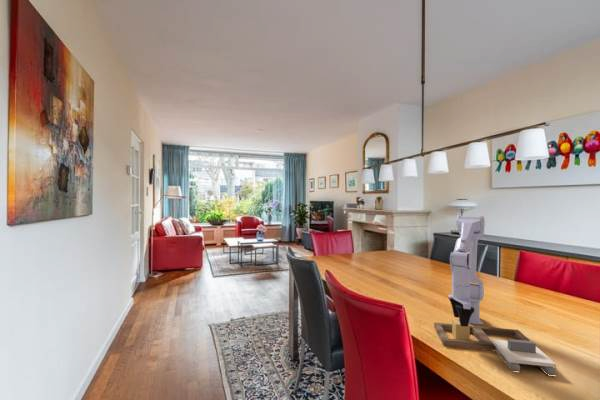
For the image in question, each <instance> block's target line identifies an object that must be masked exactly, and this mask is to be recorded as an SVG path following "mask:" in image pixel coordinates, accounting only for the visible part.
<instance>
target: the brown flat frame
mask: <svg viewBox="0 0 600 400" xmlns="http://www.w3.org/2000/svg"><path fill="white" fill-rule="evenodd" d="M433 324H434V330H435V332H436V334H437V335H438V337H439V341H441V344H442V346H443V345H446V347H453V346H458V347H457V348H463V347H468V348H467V349H472V348H476V349H475V350H482V349H485V350H486V351H492V350H495V351H494V352H495V353H496V352H497V353H498V354H499V355H500V356H501V357H502V359H503V360H504V361H505V362H506V364H507V365H508V366H509V367H510V368H511V370H512V371H519V372H520V373H521V366H520V363H511V362H508V361H507V359H506V358H505V357H504V356H503V355H502V354H501V352H500V351H499V350H498V349H497V348H496V346H495V345H494V344H493V343H492V340H491V338H490V337H489V335H492V336H504V337H514V338H515V340H525V341H531V339H529V338H528V337H527V336H526V335H525V334H524V333H523V332H521V331H520V330H519V329H511V328H499V327H488V326H477V325H470V332H471V333H472V335H473V336H474V337H475V339H476V338H477V339H476V340H471V339H470V340H460V339H455V338H449V336H448V335H447V333H446V332H445V331H451V332H452V323H444V322H443V323H442V322H434V323H433ZM471 333H470V334H471ZM536 347H538V346H537V345H536ZM485 350H484V351H485ZM497 353H496V354H497ZM498 354H497V355H498ZM499 355H498V356H499ZM500 356H499V357H500ZM502 359H501V360H502ZM503 360H502V361H503ZM504 361H503V362H504ZM505 362H504V363H505ZM506 364H505V365H506ZM507 365H506V366H507ZM508 366H507V367H508ZM509 367H508V368H509ZM539 367H540V368H542V369H543V370H544V371H545V372H546V373H547V374H549V375H556V376H557V370H556V368H555V367H547V366H539ZM539 367H538V368H539ZM540 368H539V369H540ZM511 370H510V371H511ZM512 371H511V372H512Z"/></svg>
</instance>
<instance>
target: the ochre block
mask: <svg viewBox="0 0 600 400" xmlns="http://www.w3.org/2000/svg"><path fill="white" fill-rule="evenodd" d="M451 324H452V331H451V333H452V334H451V335H452V337H453V339H460V340H470V341H471V336H470V335H471V333H470V326H471V325H470V323H468V326H467V327H466V326H461V325H460V320H459V318H457V319H455V318H452V320H451Z"/></svg>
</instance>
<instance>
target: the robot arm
mask: <svg viewBox="0 0 600 400" xmlns="http://www.w3.org/2000/svg"><path fill="white" fill-rule="evenodd" d="M485 225H486V224H485V217H484V215H460V214H459V215H458V216H457V217H456V228H457V231H458V233H459V235H460V237H459V238H457V239H456V241H455V245H454V249H453V252H452V251H451V252H450V255H449V265H450V271H451V294H448V300H449V302H450V305H451V308H452V312H453V316H454V318H457V319H458V320H460V325H461V326H466V327H467V326H468V324H472V325H473V324H474V325H481V326H482V325H484V322H483V321H482V320H481V319H480V318H481V317H480V311H481V310H480V306H481V305H480V301H483V300H484V295H485V294H484V293H485V288H484V287H485V286H484V281H483V280H482V279H481V278H479V277H478V276H477V260H478V259H477V258H478V242H479V238H482V237H483V236H484V235H485V227H486V226H485Z"/></svg>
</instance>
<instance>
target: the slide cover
mask: <svg viewBox="0 0 600 400" xmlns="http://www.w3.org/2000/svg"><path fill="white" fill-rule="evenodd" d="M491 341H492V343H493V344H494V345H495V346H496V348H497V349H498V350H499V351H500V352H501V354H502V355H503V356H504V357H505V358H506V359H507V361H508V362H511V363H518V364H519V365H530V366H537V365H538V366H547V367H553V368H557V364H556V362H555V361H553V359H551V358H550V357H549V356H548V355H547V354H545V353H544V352H543V351H542V350H541V349H540V348H539V347H538V346H537V343H536V342H534V341H532V340H530V341H525V340H517V339H512V338H507V340H502V339H492V340H491ZM536 346H537V347H536ZM538 366H537V367H538Z"/></svg>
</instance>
